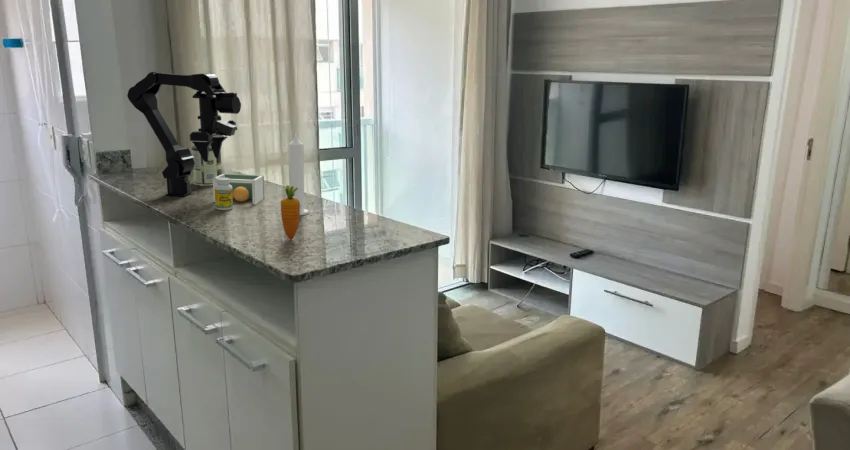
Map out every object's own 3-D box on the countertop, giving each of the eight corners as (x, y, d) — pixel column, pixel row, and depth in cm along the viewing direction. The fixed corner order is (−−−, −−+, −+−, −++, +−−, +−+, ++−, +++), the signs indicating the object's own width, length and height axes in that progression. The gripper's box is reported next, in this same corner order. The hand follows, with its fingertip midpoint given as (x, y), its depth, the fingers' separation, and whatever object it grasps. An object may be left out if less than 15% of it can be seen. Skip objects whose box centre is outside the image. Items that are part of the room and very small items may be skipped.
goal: (213, 202, 205) (212, 178, 203) (224, 196, 214) (223, 173, 212) (255, 204, 205) (254, 180, 203) (264, 198, 214) (263, 175, 212)
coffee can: (210, 180, 242) (208, 143, 239) (228, 183, 237) (226, 146, 233) (187, 183, 234) (185, 146, 230) (205, 187, 228) (203, 149, 225)
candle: (312, 211, 198) (312, 132, 192) (301, 216, 191) (300, 134, 185) (293, 209, 200) (291, 131, 194) (281, 214, 193) (279, 133, 187)
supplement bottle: (229, 205, 201) (229, 176, 199) (235, 209, 197) (234, 179, 195) (212, 207, 198) (212, 177, 196) (217, 211, 194) (217, 180, 192)
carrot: (282, 237, 169) (281, 182, 165) (301, 237, 169) (300, 183, 165) (280, 242, 164) (278, 186, 160) (299, 242, 164) (298, 186, 160)
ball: (235, 182, 207) (238, 190, 211) (229, 193, 205) (232, 202, 209) (249, 185, 207) (252, 194, 211) (243, 197, 204) (246, 206, 208)
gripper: (221, 115, 196) (224, 164, 200) (242, 111, 214) (244, 156, 218) (187, 114, 196) (190, 163, 200) (211, 110, 214) (213, 155, 218)
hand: (211, 159), depth 209 cm, fingers open, 9 cm apart
